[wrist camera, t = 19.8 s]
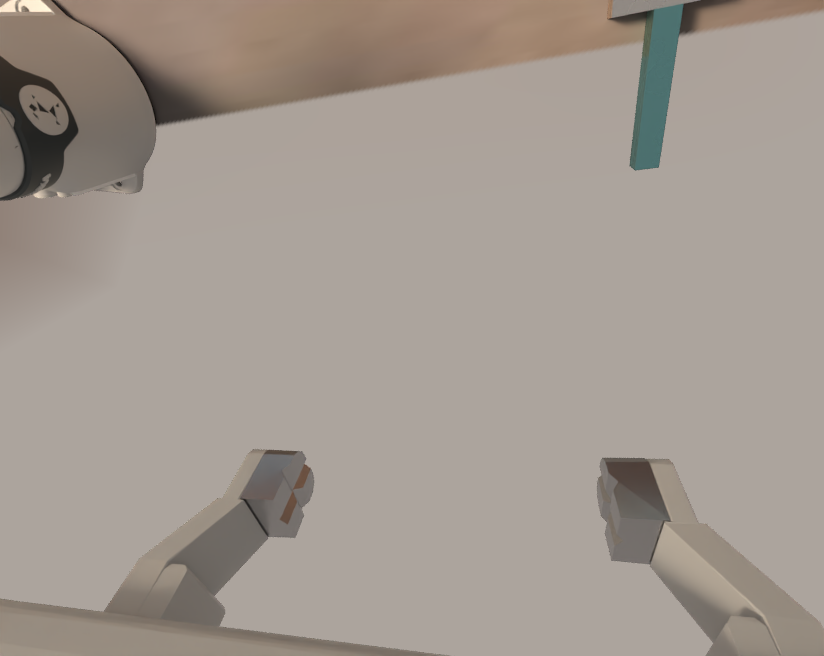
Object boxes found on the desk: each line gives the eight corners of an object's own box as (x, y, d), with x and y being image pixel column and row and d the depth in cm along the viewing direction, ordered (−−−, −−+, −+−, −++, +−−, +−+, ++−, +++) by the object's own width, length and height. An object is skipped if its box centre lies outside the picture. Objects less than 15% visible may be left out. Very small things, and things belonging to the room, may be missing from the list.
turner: (687, 158, 39) (695, 162, 37) (596, 169, 40) (600, 174, 39) (745, -154, 28) (760, -164, 26) (616, -119, 30) (623, -128, 28)
